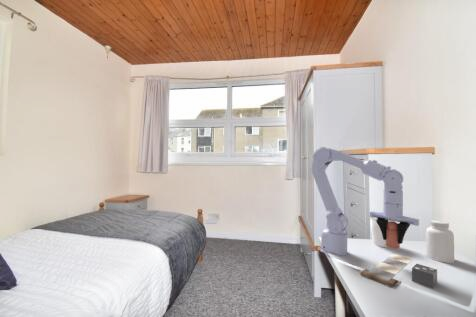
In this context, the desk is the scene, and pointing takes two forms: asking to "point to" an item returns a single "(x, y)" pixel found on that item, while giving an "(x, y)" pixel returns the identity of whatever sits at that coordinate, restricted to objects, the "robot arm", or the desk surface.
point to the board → (387, 270)
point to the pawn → (392, 235)
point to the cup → (377, 233)
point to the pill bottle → (440, 242)
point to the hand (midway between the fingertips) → (392, 241)
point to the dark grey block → (424, 275)
